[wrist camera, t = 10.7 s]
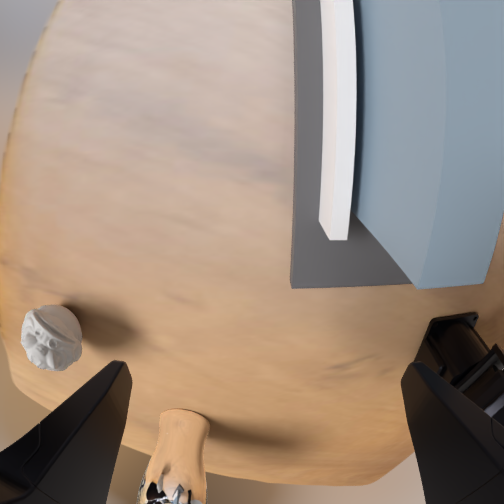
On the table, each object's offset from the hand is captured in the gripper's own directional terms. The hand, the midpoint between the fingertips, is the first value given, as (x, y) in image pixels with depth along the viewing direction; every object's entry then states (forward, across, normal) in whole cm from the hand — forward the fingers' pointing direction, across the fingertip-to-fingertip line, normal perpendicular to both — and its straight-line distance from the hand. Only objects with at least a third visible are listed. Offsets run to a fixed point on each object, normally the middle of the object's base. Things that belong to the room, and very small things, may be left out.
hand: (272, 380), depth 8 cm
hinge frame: (+13, -7, -9) cm, 17 cm away
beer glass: (+13, +8, +25) cm, 29 cm away
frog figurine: (+13, +18, +9) cm, 24 cm away
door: (+12, -7, -9) cm, 16 cm away
